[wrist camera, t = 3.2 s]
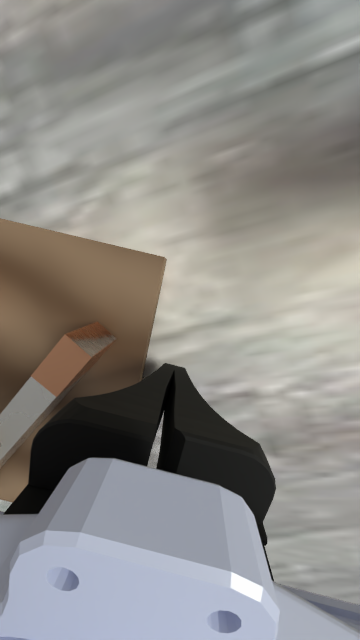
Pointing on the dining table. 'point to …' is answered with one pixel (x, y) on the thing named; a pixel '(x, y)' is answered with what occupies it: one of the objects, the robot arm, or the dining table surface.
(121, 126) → the dining table surface
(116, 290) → the walnut board
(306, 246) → the dining table surface
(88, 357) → the hinged tong arm
